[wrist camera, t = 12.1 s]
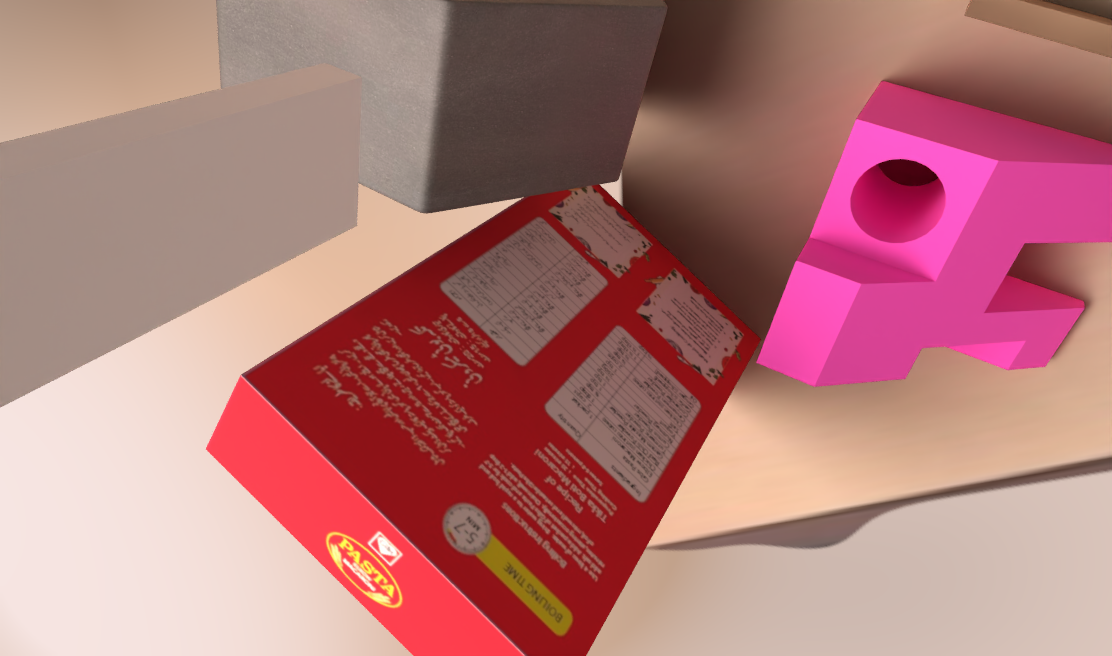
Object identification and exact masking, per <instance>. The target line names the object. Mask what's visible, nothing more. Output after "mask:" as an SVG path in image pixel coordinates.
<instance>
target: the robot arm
mask: <svg viewBox="0 0 1112 656" xmlns="http://www.w3.org/2000/svg"><path fill="white" fill-rule="evenodd" d="M361 92H362V77H360V76H358V75H355V74H353V73H350V72H347V71H345V70H342V69H340V68H337V67H335V66H332V65H330V64H327V63H323V64H319V65H315V66H311V67H306V68H302V69H298V70H294V71H290V72H286V73H282V74H278V75H274V76H270V77H266V78H262V79H258V80H254V81H250V82H246V83H242V84H238V85H233V86H229V87H225V88H221V89H217V90H213V91H209V92H205V93H201V94H197V95H193V96H189V97H185V98H181V99H177V100H173V101H169V102H165V103H160V104H157V105H152V106H149V107H144V108H140V109H136V110H132V111H128V112H124V113H120V114H116V115H112V116H108V117H104V118H100V119H96V120H91V121H87V122H84V123H80V124H75V125H71V126H67V127H63V128H59V129H55V130H51V131H47V132H43V133H39V134H35V135H31V136H27V137H22V138H18V139H15V140H10V141H6V142H2V143H0V407H2V406H4V405H6V404H8V403H10V402H12V401H14V400H16V399H18V398H20V397H22V396H24V395H25V394H27V393H30V392H31V391H33V390H35V389H37V388H39V387H41V386H43V385H45V384H47V383H49V382H51V381H53V380H55V379H57V378H59V377H61V376H63V375H65V374H67V373H69V372H71V371H73V370H75V369H77V368H78V367H81V366H82V365H85V364H86V363H88V362H90V361H92V360H94V359H96V358H98V357H100V356H102V355H104V354H106V353H108V352H110V351H112V350H114V349H116V348H118V347H120V346H122V345H124V344H126V343H128V342H130V341H132V340H134V339H136V338H137V337H140V336H141V335H143V334H145V333H147V332H149V331H151V330H153V329H155V328H157V327H159V326H161V325H163V324H165V323H167V322H169V321H171V320H173V319H175V318H177V317H179V316H181V315H183V314H185V313H187V312H188V311H191V310H193V309H195V308H197V307H198V306H200V305H202V304H204V303H206V302H208V301H210V300H212V299H214V298H216V297H218V296H220V295H222V294H224V293H226V292H228V291H230V290H232V289H233V288H236V287H238V286H240V285H241V284H244V283H246V282H247V281H250V280H251V279H253V278H255V277H257V276H259V275H261V274H263V273H265V272H267V271H269V270H271V269H273V268H275V267H277V266H279V265H281V264H283V263H285V262H286V261H289V260H291V259H293V258H295V257H296V256H299V255H300V254H303V253H305V252H306V251H308V250H310V249H312V248H314V247H316V246H318V245H320V244H322V243H324V242H326V241H328V240H330V239H332V238H334V237H336V236H338V235H340V234H342V233H344V232H346V231H348V230H350V229H352V228H354V227H355V226H357V209H358V207H357V206H358V180H359V151H360V121H361Z"/></svg>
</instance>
